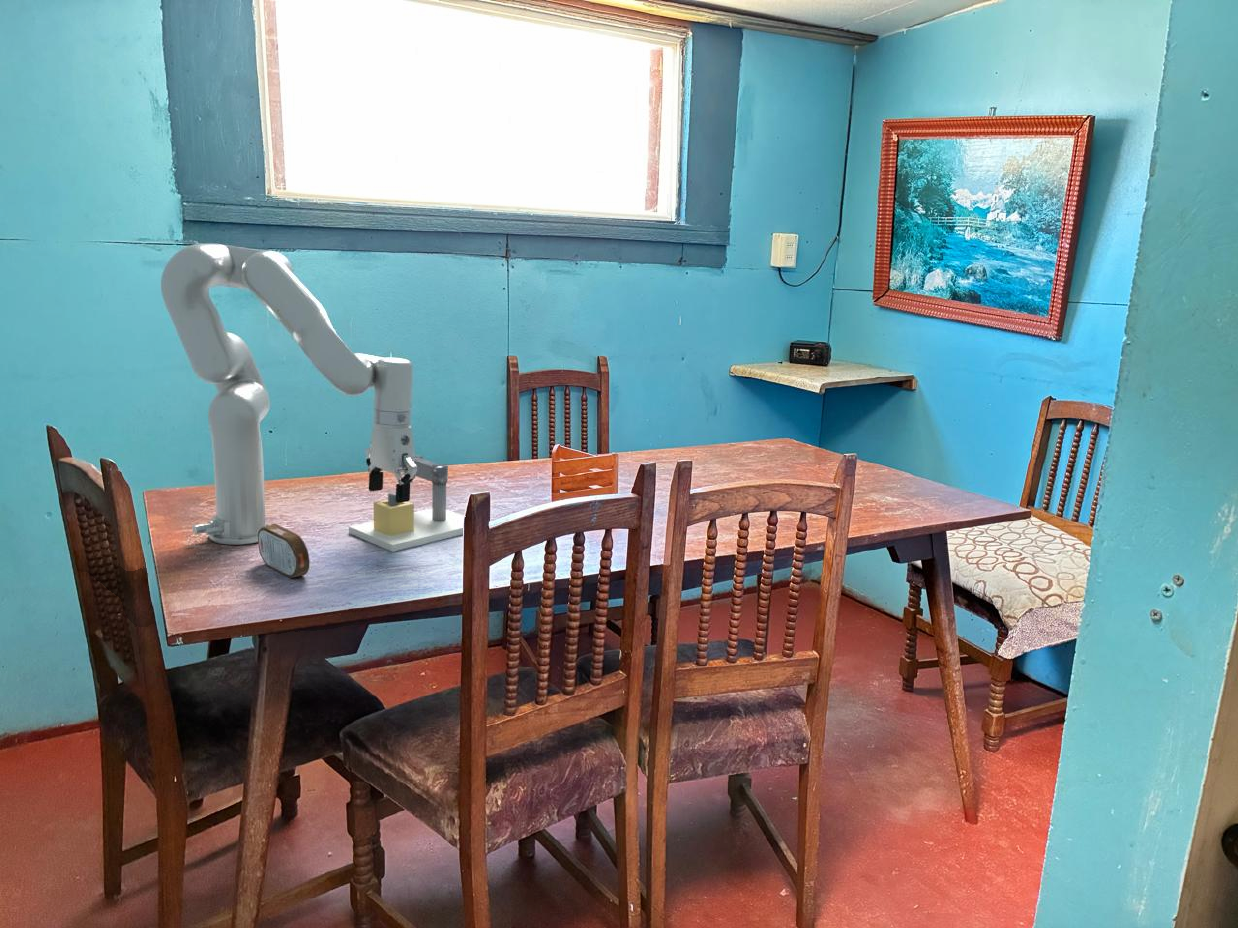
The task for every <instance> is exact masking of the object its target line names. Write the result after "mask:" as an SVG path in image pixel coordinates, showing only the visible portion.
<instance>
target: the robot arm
mask: <svg viewBox="0 0 1238 928" xmlns="http://www.w3.org/2000/svg"><path fill="white" fill-rule="evenodd" d="M292 265H293V264H291V261H290V260H289V259H288V258H287V257H286V256H285V255H283V254H281V253H279V252H278V251H274V250H265V249H255V248H249V247H248V248H247V247H240V246H234V245H227V244H220V243H195V244H191V245H190V244H189V245H187V246H185V247H183V248H181V249H179V250H178V251H177V252H176V253H174V254H173V256H171V258H170V259H169V260H168V262H167V263H166V265H165V266H164V268H163V271H162V274H161V277H160V278H161V279H160V290H161V291H160V292H161V295H162V299H163V302H164V305H165V307H166V310H167V312H168V314H169V317H170V319H171V321H172V324H173V325H174V328H175V330H176V333H177V336H178V337H179V341H180V342H181V345H182V347H183V349H184V351H185V354H186V357H187V358H188V361H189V363H190V365H191V368H192V371H193V372H194V374H196V376H197V377H198V378H199V379H200V380H201V381H203V382H205V383H208V384H214V386H215V389H216V390H217V392H218V393H216V395H215V396H214V397H213V398H212V400H211V401H210V404H209V407H208V412H207V413H208V414H207V417H208V418H207V419H208V420H207V421H208V428H209V432H210V439H211V446H212V447H211V448H212V459H213V460H212V462H213V464H212V465H213V473H214V474H213V475H214V476H213V477H214V494H215V496H214V497H215V498H214V499H215V515H212V516H211V520H208V522H207V523H199V524H194V525H192V531H193V534H194V535H199V534H205V535H206V536H208V537H209V539H210V540H211V541H213V542H214V543H217V544H222V545H230V546H231V545H232V546H233V545H239V546H240V545H249V544H256V543H258V532H259V530H260V529H261V528H263V527H266V526H269V525H270V524H268V523H267V521H266V520H267V519H266V500H265V499H266V498H265V497H266V496H265V495H266V494H265V473H264V472H265V471H264V470H265V469H264V452H263V441H262V435H261V426H260V423H261V422H262V420H264V419H265V417H266V416H267V414H268V413H269V411H270V406H271V401H270V395H269V392H268V390H267V387H266V385H265V382H264V380H263V378H262V376H261V372H260V370H259V369H258V366H257V364H256V362H255V359H254V356H253V354H252V352H251V350H250V348H249V346H248V345H247V343H246V342H245V341H244V340H243V339H242V338H241V337H239V335H237V334H234V333H232V332H229V331H228V332H227V330H226V328H225V326H224V324H223V321H222V319H221V316H220V314H219V311H218V310H217V307H216V306H215V304H214V302H213V300H211V298H210V293H209V291H210V289H211V288H214V287H227V288H232V289H233V288H234V289H241V290H249V291H250V292H251V293H252V295H254V296H255V298H256V299H257V300H258V301H259V302H260V303H261V304H262V305H263V306H264V307H265V308H266V309H267V310H268V312H270V314H272V316H273V317H274V318H275V319H276V320H277V321H278V322H279V323H280V324H281V325H282V327H284V328H285V329H286V331H287V332H288V333H289V334H290V336H291V337H292V338H293V340H294V341H295V343H296V344H297V345H298V347H299V348H300V349H301V351H302V352H303V354H304V355H305V356H306V357H307V358H308V360H309V362H311V364H313V366H314V367H315V368H316V369H317V371H318V372H320V373H321V375H322V376H323V377H324V378H325V379H326V380H327V381H328V383H330V384H331V385H332V386H333V387H334V388H335V389H336V390H337V391H339V392H340V393H341V394H344V395H346V396H349V397H351V396H352V397H354V396H359V395H362V394H364V393H365V392H366V391H368V390H369V389H374V401H373V424H372V429H371V436H370V444H369V447H368V448H366V449H364V453H365V454H364V455H365V459H366V462H365V463H366V465H367V467H368V468H367V472H368V474H369V476H368V491H369V492H378V491H379V492H380V491H382V490H383V488H384V471H385V472H387V473H391V474H392V475H393V474H394V475H395V478H396V481H397V483H396V484H395V485H396V486H395V493H396V502H397V503H401V502H407V501H408V502H410V499H411V484H413V480H414V479H416V476H415V474H416V472H417V469H418V468H417V466H416V465H415V463H414V454H415V442H414V434H413V428H412V426H411V419H412V415H411V414H412V398H413V397H412V395H413V373H414V366H413V363H412V362H411V361H410V360H408V359H406V358H400V357H389V356H388V357H381V356H375V355H372V354H371V355H370V354H365V353H362V352H360V353H359V352H356V353H355V352H353V351H352V350H351V348H349V347H348V345H347V344H346V343H345V342H344V341H343V340H342V339H341V337H340V336H339V335H338V334H337V332H336V330H335V329H334V328H333V325H332V324H331V321H330V319H329V315H328V313H327V311H326V308H325V307H324V306H323V304H322V303H321V302H320V301H319V300H318V299H317V298H316V297H315V296H314V295H313V294H312V293H311V291H310V290H308V288H307V287H306V286H305V285H304V284H303V283H302V282H301V281H300V280H299V278H298V277H297V276H296V275H295V273H294V269H293V266H292ZM399 469H401V470H399ZM402 475H403V476H402Z"/></svg>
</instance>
